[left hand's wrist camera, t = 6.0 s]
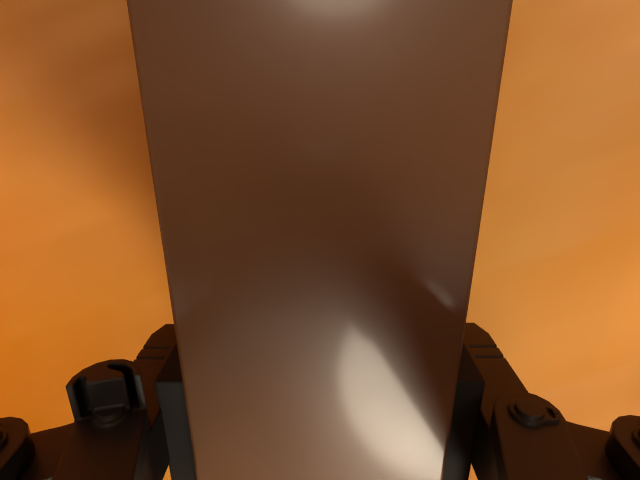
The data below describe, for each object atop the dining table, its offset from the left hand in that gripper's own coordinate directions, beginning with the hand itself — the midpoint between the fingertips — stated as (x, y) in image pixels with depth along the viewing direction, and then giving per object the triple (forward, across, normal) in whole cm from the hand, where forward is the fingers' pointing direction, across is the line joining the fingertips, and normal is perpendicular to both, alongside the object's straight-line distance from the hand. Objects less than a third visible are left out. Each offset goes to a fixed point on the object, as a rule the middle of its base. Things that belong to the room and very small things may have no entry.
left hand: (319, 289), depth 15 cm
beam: (+1, 0, -22) cm, 23 cm away
